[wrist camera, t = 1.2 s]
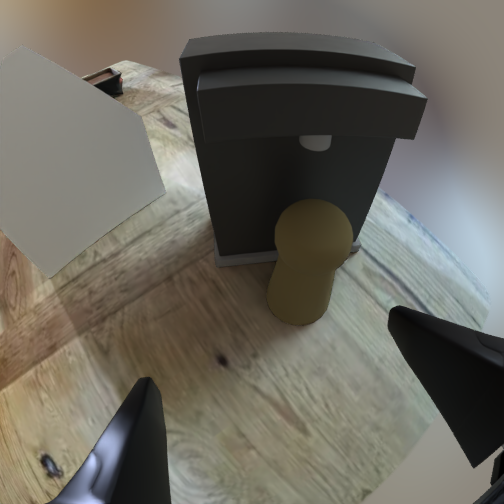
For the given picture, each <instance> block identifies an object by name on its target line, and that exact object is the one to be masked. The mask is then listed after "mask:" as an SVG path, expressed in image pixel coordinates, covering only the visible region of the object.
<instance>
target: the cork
mask: <svg viewBox="0 0 504 504" xmlns="http://www.w3.org/2000/svg"><path fill="white" fill-rule="evenodd" d="M352 243H353V232H352V226H351V224H350V222H349V220H348V218H347V217H346V215H345V213H344V212H342V211H341V210H340V209H339V208H338V207H337V206H335V205H333V204H332V203H330V202H327V201H324V200H320V199H304V200H300V201H298V202H295V203H293V204H291V205H290V206H289V207H288V208H287V209H285V210H284V211H283V212H282V213H281V216H280V218H279V220H278V222H277V224H276V226H275V244H276V247H277V250H278V253H279V256H278V259H277V261H276V264H275V267H274V270H273V273H272V276H271V279H270V282H269V285H268V287H267V295H266V299H267V303H268V306H269V308H270V310H271V311H272V313H273V314H274V315H275V316H276V317H277V318H279V319H280V320H281V321H283V322H285V323H288V324H291V325H307V324H310V323H313V322H315V321H316V320H318V319H319V318H321V316H322V315H323V314H324V312H325V311H326V310H327V307H328V303H329V300H330V295H331V290H332V286H333V281H334V276H335V271H336V269H337V268H338V267H340V266H341V265H342V264H343V263H344V261H345V260H346V258H347V257H348V255H349V253H350V251H351V248H352Z"/></svg>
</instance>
